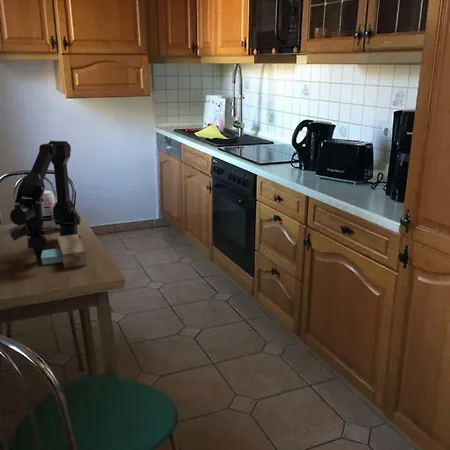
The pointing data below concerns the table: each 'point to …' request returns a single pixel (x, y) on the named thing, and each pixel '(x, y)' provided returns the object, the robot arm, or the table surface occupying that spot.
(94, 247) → the table surface
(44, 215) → the supplement can
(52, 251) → the teal rectangular block
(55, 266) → the table surface
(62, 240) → the block
